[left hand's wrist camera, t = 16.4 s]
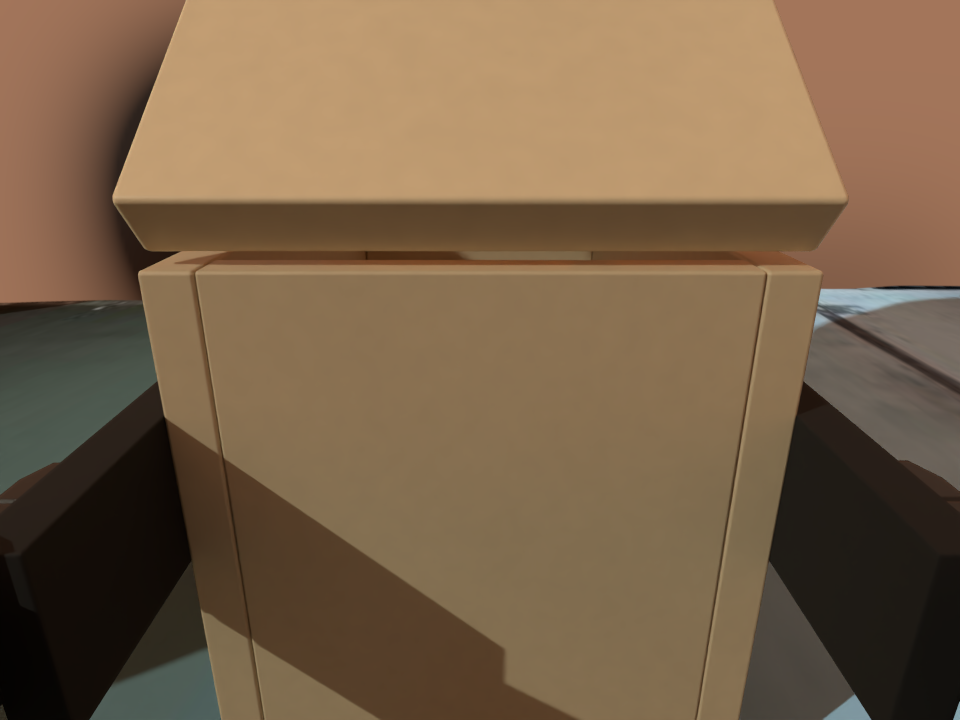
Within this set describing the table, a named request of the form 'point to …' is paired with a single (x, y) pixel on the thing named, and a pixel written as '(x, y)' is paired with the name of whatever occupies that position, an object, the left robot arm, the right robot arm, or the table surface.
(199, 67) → the lid
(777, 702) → the table surface
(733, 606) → the chest
